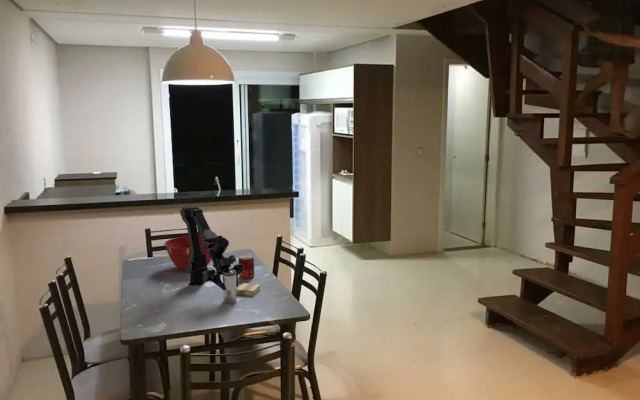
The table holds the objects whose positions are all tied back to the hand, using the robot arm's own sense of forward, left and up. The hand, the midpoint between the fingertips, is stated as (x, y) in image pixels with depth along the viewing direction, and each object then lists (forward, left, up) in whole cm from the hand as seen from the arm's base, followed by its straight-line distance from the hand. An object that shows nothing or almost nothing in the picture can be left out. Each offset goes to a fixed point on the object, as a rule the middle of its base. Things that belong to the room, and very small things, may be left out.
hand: (230, 288), depth 233 cm
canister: (-1, +1, -7) cm, 7 cm away
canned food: (-8, +37, -7) cm, 38 cm away
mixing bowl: (-44, +45, -7) cm, 63 cm away
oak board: (+2, +15, -7) cm, 16 cm away
